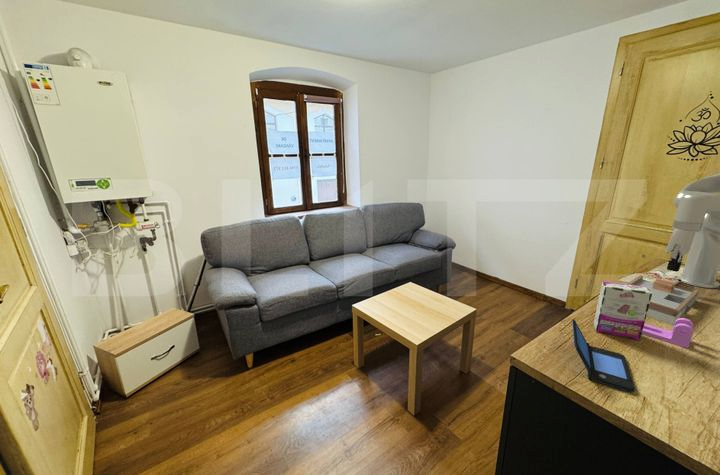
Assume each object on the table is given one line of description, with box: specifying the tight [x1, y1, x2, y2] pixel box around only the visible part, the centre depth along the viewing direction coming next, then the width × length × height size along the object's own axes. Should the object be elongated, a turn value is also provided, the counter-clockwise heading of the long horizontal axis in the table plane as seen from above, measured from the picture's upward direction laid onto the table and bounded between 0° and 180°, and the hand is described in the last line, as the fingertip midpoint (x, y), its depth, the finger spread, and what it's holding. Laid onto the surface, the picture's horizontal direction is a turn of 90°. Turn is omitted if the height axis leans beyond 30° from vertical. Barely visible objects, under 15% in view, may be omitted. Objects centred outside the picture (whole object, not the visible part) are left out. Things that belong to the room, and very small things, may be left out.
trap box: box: [627, 275, 700, 326], centre depth 110 cm, size 28×17×6 cm, turn 122°
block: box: [652, 278, 677, 293], centre depth 114 cm, size 5×5×3 cm
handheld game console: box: [571, 319, 636, 393], centre depth 80 cm, size 16×13×9 cm
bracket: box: [642, 317, 694, 349], centre depth 92 cm, size 13×6×7 cm, turn 43°
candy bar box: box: [593, 281, 652, 341], centre depth 92 cm, size 11×5×16 cm, turn 62°
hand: (672, 270), depth 117 cm, fingers closed
